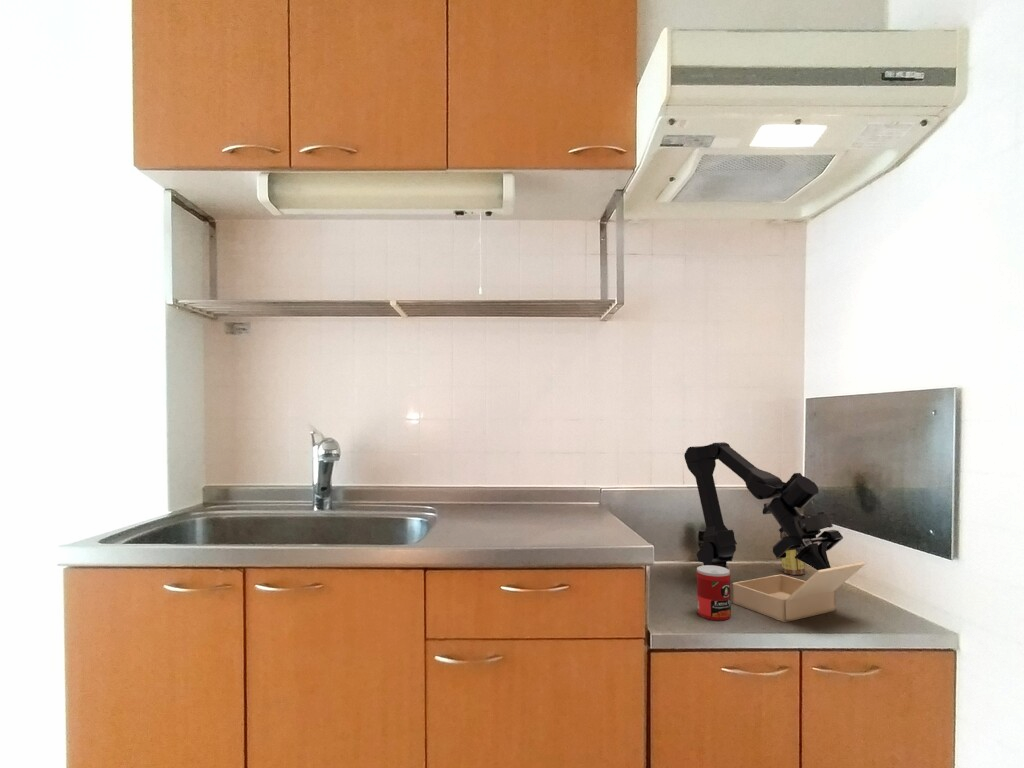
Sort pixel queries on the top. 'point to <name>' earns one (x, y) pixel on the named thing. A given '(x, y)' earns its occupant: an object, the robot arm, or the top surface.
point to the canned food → (713, 592)
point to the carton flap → (826, 580)
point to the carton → (780, 598)
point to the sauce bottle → (792, 562)
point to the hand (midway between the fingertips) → (830, 575)
